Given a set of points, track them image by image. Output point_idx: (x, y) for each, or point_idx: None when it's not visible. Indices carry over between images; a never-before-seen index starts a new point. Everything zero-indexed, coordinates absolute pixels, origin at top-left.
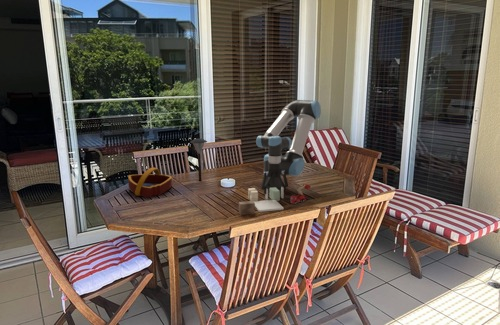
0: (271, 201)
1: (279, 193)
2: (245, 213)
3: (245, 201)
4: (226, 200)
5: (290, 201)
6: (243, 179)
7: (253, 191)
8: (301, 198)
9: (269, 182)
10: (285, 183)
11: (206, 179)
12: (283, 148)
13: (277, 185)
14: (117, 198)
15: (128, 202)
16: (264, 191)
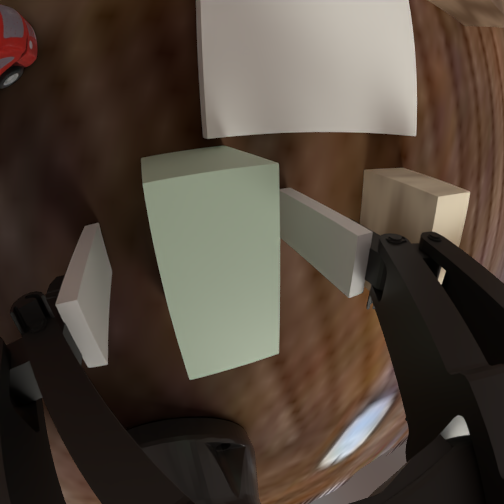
0: (272, 77)
1: (148, 171)
2: None
3: (500, 11)
4: (468, 223)
5: (33, 50)
6: (290, 475)
7: (454, 216)
8: None
9: (426, 314)
10: (29, 414)
11: (391, 430)
12: None
13: (151, 456)
14: None
15: None
16: (369, 229)
